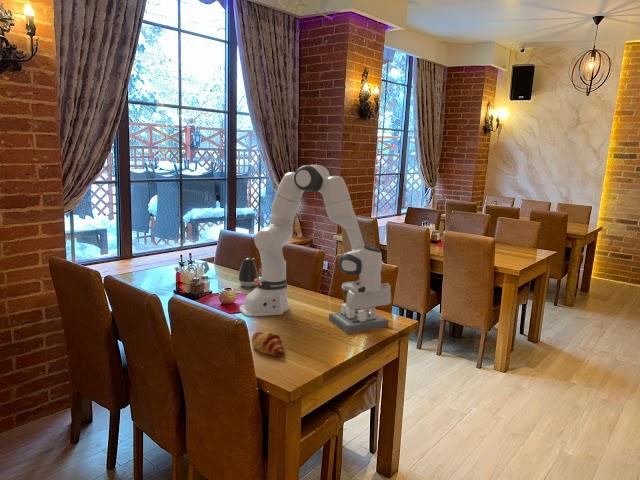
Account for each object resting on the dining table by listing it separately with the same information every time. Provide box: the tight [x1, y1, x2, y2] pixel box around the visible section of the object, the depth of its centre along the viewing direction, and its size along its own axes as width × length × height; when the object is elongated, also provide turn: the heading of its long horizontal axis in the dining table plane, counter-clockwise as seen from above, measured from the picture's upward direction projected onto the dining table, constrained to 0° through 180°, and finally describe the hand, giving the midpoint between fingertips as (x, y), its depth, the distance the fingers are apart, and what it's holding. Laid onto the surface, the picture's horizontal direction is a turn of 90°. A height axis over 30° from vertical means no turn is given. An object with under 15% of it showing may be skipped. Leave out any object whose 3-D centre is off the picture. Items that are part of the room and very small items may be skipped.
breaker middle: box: [346, 307, 355, 319], centre depth 202 cm, size 2×3×4 cm
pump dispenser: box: [238, 257, 259, 288], centre depth 252 cm, size 10×10×15 cm
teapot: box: [174, 259, 210, 274], centre depth 261 cm, size 15×15×11 cm
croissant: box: [251, 331, 285, 357], centre depth 176 cm, size 21×10×8 cm, turn 36°
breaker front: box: [357, 310, 366, 322], centre depth 198 cm, size 2×3×4 cm
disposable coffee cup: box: [341, 281, 358, 310], centre depth 221 cm, size 10×10×12 cm
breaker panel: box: [328, 307, 389, 334], centre depth 204 cm, size 20×16×3 cm
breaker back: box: [340, 302, 347, 315], centre depth 206 cm, size 2×3×4 cm
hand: (368, 316), depth 200 cm, fingers closed
